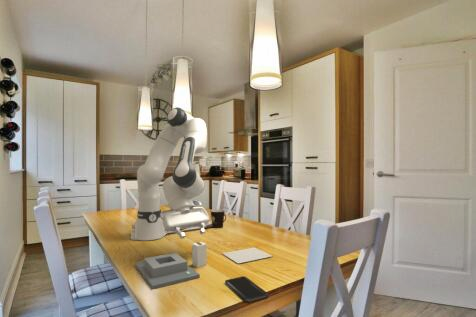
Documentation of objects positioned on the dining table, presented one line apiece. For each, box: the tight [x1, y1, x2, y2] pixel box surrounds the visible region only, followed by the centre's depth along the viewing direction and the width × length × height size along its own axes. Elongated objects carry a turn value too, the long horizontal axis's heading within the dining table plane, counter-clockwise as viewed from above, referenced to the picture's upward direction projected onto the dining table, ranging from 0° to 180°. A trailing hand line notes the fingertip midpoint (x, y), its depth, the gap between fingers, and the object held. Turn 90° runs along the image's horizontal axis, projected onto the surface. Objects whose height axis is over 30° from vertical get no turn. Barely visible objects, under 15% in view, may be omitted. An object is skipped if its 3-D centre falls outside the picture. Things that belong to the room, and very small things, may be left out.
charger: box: [191, 241, 208, 268], centre depth 107 cm, size 4×4×8 cm
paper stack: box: [222, 246, 273, 264], centre depth 111 cm, size 23×25×1 cm
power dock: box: [134, 252, 200, 290], centre depth 100 cm, size 24×16×4 cm, turn 33°
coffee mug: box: [210, 209, 227, 229], centre depth 168 cm, size 12×9×10 cm
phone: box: [224, 275, 269, 304], centre depth 86 cm, size 8×1×15 cm
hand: (193, 235), depth 112 cm, fingers open, 8 cm apart
